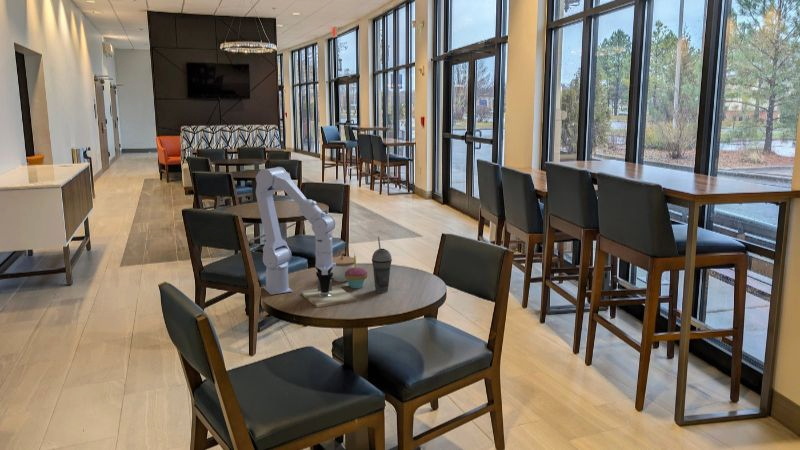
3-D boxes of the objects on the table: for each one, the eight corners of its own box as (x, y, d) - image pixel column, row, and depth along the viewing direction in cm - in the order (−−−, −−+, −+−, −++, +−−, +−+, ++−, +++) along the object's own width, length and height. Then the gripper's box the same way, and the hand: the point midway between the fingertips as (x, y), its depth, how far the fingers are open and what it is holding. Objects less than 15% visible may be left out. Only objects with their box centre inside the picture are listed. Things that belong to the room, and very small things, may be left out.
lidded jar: (354, 283, 221) (354, 259, 219) (326, 283, 221) (325, 258, 219) (357, 275, 231) (357, 252, 229) (330, 275, 231) (329, 252, 230)
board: (301, 294, 208) (301, 291, 208) (338, 288, 214) (338, 286, 214) (317, 307, 194) (317, 304, 194) (356, 301, 200) (356, 298, 200)
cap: (317, 292, 200) (317, 281, 200) (317, 287, 206) (317, 277, 205) (332, 291, 201) (331, 281, 200) (331, 287, 207) (331, 276, 206)
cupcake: (342, 284, 220) (341, 253, 217) (363, 282, 222) (363, 251, 220) (348, 291, 212) (348, 258, 209) (370, 288, 215) (370, 256, 212)
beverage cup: (389, 294, 208) (389, 239, 204) (369, 293, 209) (369, 238, 205) (393, 288, 215) (394, 235, 211) (374, 287, 216) (374, 234, 212)
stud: (316, 294, 205) (316, 289, 204) (328, 292, 207) (328, 288, 206) (321, 297, 201) (321, 293, 201) (333, 295, 203) (333, 291, 203)
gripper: (336, 256, 194) (337, 295, 197) (335, 246, 208) (335, 282, 211) (315, 256, 193) (315, 296, 196) (315, 246, 207) (315, 283, 210)
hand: (324, 289), depth 203 cm, fingers closed on cap, 6 cm apart
